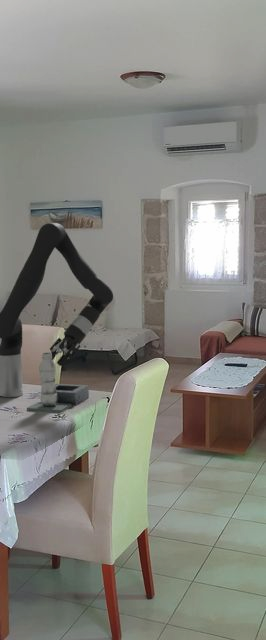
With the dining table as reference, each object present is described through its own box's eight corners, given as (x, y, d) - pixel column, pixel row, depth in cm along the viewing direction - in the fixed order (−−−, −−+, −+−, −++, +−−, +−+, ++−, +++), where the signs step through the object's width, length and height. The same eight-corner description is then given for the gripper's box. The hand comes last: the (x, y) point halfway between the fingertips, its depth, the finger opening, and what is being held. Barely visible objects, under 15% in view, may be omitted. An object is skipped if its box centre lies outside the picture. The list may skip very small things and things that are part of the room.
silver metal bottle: (59, 403, 247) (57, 351, 245) (55, 408, 241) (53, 354, 238) (43, 403, 248) (40, 352, 246) (38, 408, 241) (36, 355, 239)
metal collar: (42, 403, 252) (42, 390, 252) (57, 395, 264) (56, 383, 264) (75, 405, 248) (75, 392, 247) (88, 397, 260) (88, 385, 259)
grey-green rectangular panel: (26, 410, 242) (26, 407, 242) (37, 404, 251) (37, 402, 251) (60, 412, 238) (60, 410, 238) (71, 406, 246) (71, 404, 246)
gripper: (62, 321, 253) (37, 354, 247) (82, 325, 241) (56, 359, 236) (75, 334, 256) (50, 366, 251) (94, 337, 245) (69, 371, 240)
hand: (53, 363), depth 243 cm, fingers open, 8 cm apart
